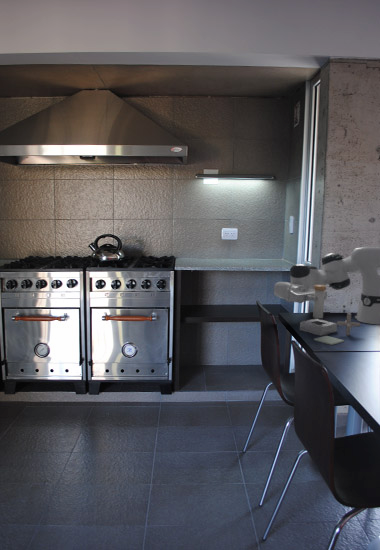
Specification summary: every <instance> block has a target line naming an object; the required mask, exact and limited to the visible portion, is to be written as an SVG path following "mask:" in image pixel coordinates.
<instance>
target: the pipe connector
mask: <svg viewBox="0 0 380 550" xmlns="http://www.w3.org/2000/svg"><path fill="white" fill-rule="evenodd" d="M336 324H337V326H343V327H345V336H350V335H351V329H352V328H353V327H355V328H356V327H358V328H359V327H361V322H354V321H353V322H352V313H350V312H349V313H348V312H347V313H346V319H345V321H337V322H336Z"/></svg>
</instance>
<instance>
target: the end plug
mask: <svg viewBox="0 0 380 550" xmlns="http://www.w3.org/2000/svg"><path fill="white" fill-rule="evenodd" d="M314 289H315V295H314V296H315V297H317V301H313V312H312V317H313V319H323V318H324V309H325V308H324V307H325V306H324V305H325V300H324V296H325V291H326V290H327V285H325V286H324V285H314Z"/></svg>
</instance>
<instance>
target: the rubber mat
mask: <svg viewBox="0 0 380 550" xmlns="http://www.w3.org/2000/svg"><path fill="white" fill-rule="evenodd" d="M313 341H315V342H320V343H323V344H326V345H330V346H333V345H337V344H341V343H344V341H345V340H344V339H340V338H338V337H337V338H336V337H332V336H328V335H322V336H320V337H316V338H313Z"/></svg>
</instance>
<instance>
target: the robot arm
mask: <svg viewBox="0 0 380 550" xmlns="http://www.w3.org/2000/svg"><path fill="white" fill-rule="evenodd" d="M321 264H322V266H323V268H324V269H318V268H317V266H315V265H306V264H303V263H297V264H293V265H292V266H291V267H290V269H289V274H290V275H289V276H290V282H288V281H277V282H276V283H275V284H274V287H273V294H274V296H275V297H277V298H280V299H283V300H285V301H286V302H287V303H298V304H303V303H305V302H309V301H311V302H312V301H313V302H314V301H317V297H315V296H314V295H315V289H314V285H324V286H327V285H328V288H331V289H333V290H335V291H341V290H345V289H347V288H349V286H350V285H351V279H350V276H349V274H360V275H361V277H362V292H361V294H360V301H359V303H358V307H357V313H356V315H354V318H355V319H356V321H358V322H359V323H365V324H370V325H380V274H379V273H378V271H379V270H380V246H359V247H355V248H354V249H353V251H352V252H351V254H350V255H349V256H347V257H346V258H344V255H341V254H339V253H338V252H330V253H327V254H325V255H324V256H323V257H322V258H321ZM348 273H349V274H348ZM327 296H328V292H327V291H326V290H325V296H324V301H326V300H327V298H328V297H327Z"/></svg>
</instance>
